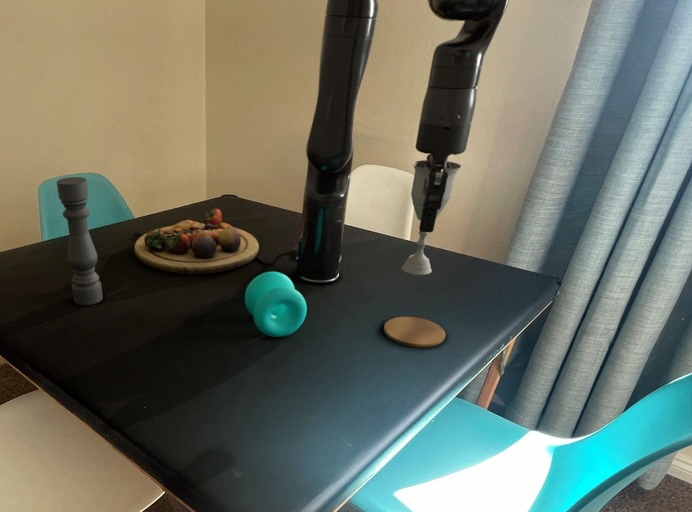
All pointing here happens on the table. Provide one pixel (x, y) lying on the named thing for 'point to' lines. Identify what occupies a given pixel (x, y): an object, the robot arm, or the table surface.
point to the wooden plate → (197, 246)
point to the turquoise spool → (275, 304)
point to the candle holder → (80, 241)
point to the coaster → (414, 331)
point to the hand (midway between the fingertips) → (425, 225)
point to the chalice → (418, 261)
